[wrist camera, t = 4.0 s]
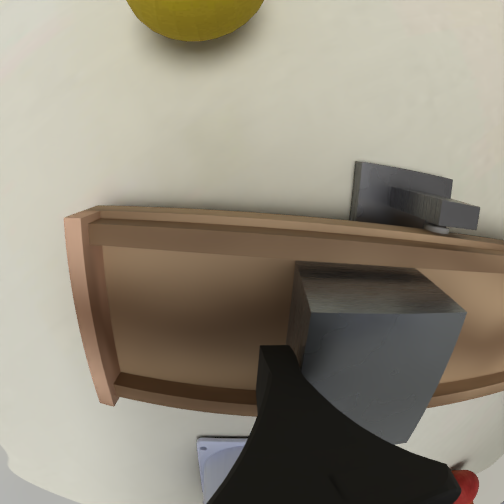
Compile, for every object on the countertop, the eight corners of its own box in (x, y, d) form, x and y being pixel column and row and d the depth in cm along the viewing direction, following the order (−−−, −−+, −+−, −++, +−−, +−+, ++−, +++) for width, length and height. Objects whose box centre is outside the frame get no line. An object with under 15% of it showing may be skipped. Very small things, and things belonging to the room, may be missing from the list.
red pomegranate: (469, 461, 28) (490, 495, 20) (439, 484, 29) (458, 519, 21) (461, 456, 26) (485, 494, 19) (428, 481, 27) (448, 520, 20)
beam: (506, 367, 15) (528, 392, 12) (123, 367, 15) (100, 405, 12) (549, 243, 12) (582, 259, 9) (104, 199, 13) (63, 212, 9)
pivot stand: (394, 378, 19) (425, 424, 14) (317, 387, 18) (337, 444, 14) (444, 178, 15) (505, 191, 10) (355, 161, 14) (409, 166, 9)
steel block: (380, 382, 13) (406, 442, 9) (279, 384, 13) (283, 453, 9) (414, 267, 11) (467, 312, 7) (295, 260, 11) (311, 312, 7)
